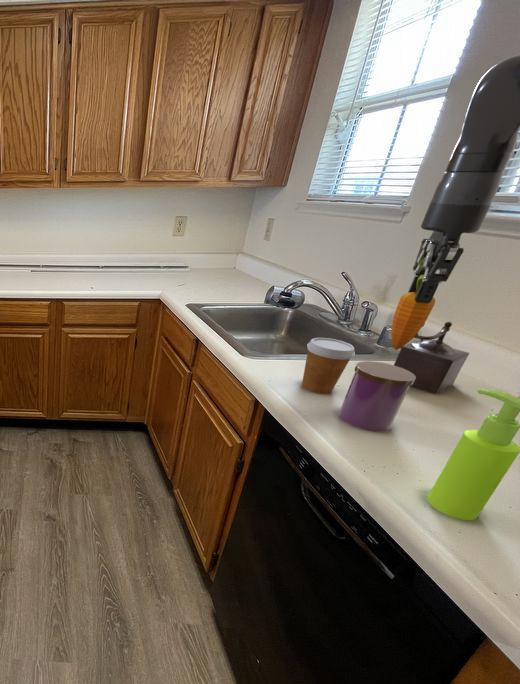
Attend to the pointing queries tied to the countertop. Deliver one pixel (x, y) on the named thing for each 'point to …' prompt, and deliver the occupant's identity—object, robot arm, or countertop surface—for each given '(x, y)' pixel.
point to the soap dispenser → (478, 462)
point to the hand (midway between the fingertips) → (418, 298)
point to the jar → (375, 395)
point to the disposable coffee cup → (325, 364)
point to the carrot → (409, 317)
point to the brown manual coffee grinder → (432, 361)
